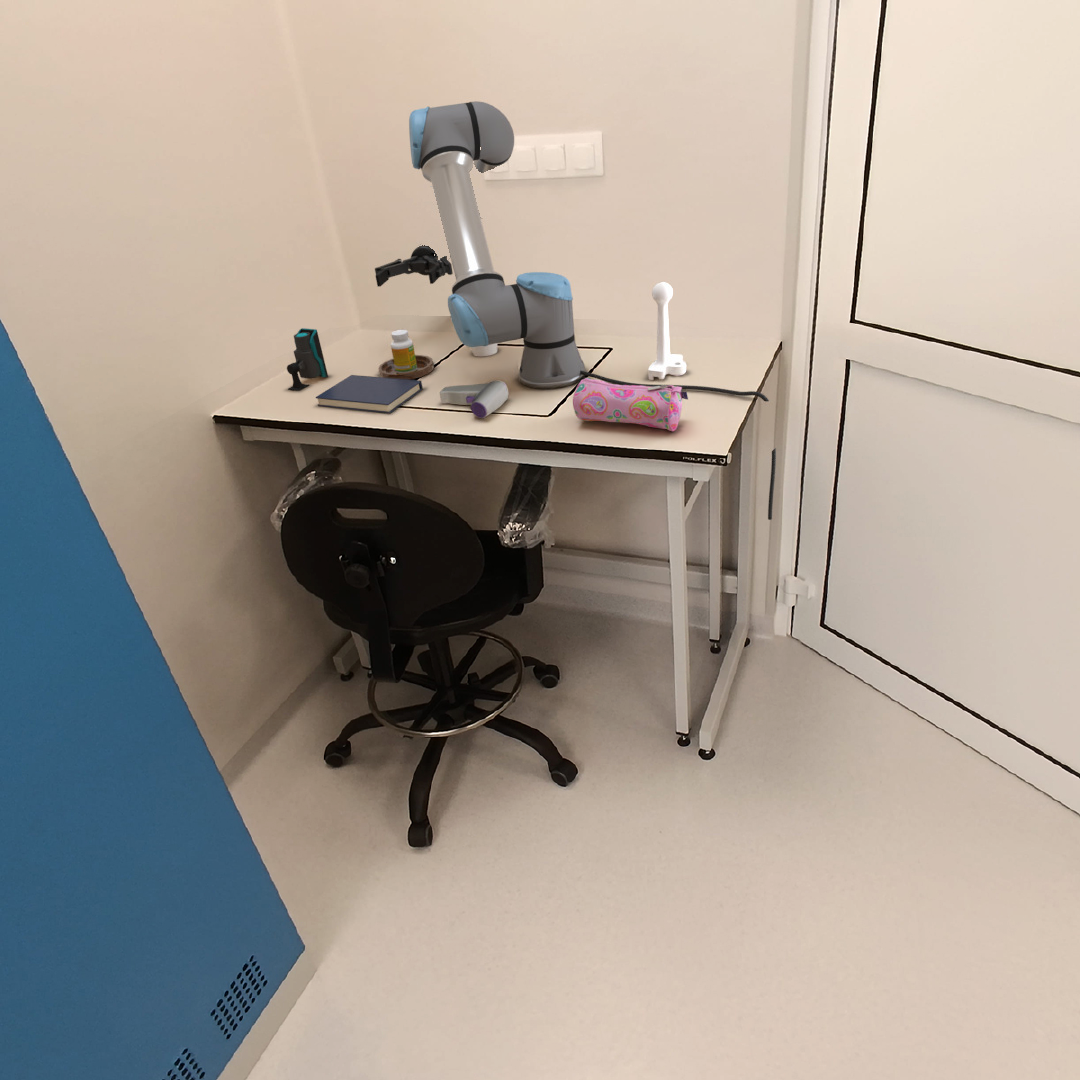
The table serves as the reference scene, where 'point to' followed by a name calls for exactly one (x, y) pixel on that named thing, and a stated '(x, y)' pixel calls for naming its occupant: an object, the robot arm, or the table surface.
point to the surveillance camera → (307, 358)
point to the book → (370, 393)
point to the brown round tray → (423, 368)
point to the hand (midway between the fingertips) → (404, 279)
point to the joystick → (664, 337)
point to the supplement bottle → (403, 352)
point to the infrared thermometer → (477, 396)
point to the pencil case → (629, 403)
